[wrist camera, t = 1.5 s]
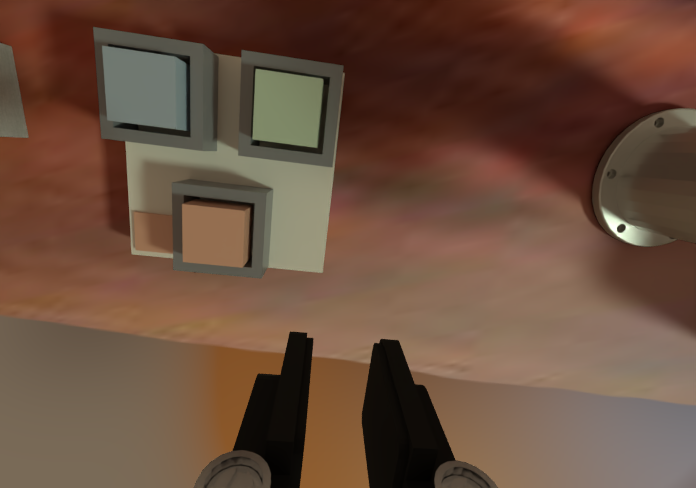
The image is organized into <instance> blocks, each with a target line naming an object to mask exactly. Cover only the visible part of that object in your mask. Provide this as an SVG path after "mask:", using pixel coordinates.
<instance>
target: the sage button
mask: <svg viewBox="0 0 696 488" xmlns="http://www.w3.org/2000/svg"><path fill="white" fill-rule="evenodd" d="M323 90H324V82H323V79H321V78H314V77H308V76H301V75H294V74H288V73H281V72H274V71H268V70H261V69H256V72H255V94H254V116H253V139H254V140H260V141H267V142H275V143H283V144H290V145H298V146H306V147H313V148H318V142H319V131H320V121H321V111H322V100H323Z"/></svg>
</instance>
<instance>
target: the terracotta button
mask: <svg viewBox="0 0 696 488" xmlns="http://www.w3.org/2000/svg"><path fill="white" fill-rule="evenodd" d="M252 210H253V205H245V204H236V203H227V202H218V201H209V200H201V199H194V200H192V201H189V202H186V203H183V204H182V243H183V262H188V263H199V264H209V265H219V266H229V267H240V268H243V266H244V265H245V264H246V262H247V261H248V260H249V258H250V252H251V231H252Z"/></svg>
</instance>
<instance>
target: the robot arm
mask: <svg viewBox="0 0 696 488" xmlns="http://www.w3.org/2000/svg"><path fill="white" fill-rule="evenodd" d="M592 202H593V207H594V213H595V215H596V217H597V219H598V222H599V223H600V225H601V226H602V227H603V229H604V230H605V231H606V232H607V233H608V234H610V235H611V236H612V237H613V238H615V239H618V240H620V241H622V242H625V243H628V244H632V245H635V246H642V247H652V246H660V245H664V244H668V243H671V242H673V241H676V240H678V239H679V240H683V241H687V242H691V243H695V244H696V109H690V108H677V109H669V110H663V111H659V112H656V113H652V114H650V115H648V116H645V117H643V118H641V119H639V120H638V121H636V122H635V123H633V124H632V125H630V126H629V127H627V128H626V129H625V130H624V131H623V132H622V133H621V134H620V135H619V136H618V137H617V138H616V139H615V140H614V141H613V143H612V144H611V145H610V146H609V148H608V149H607V150H606V152H605V154H604V156H603V157H602V159H601V161H600V163H599V166H598V168H597V171H596V174H595V177H594V182H593V188H592ZM312 350H313V338H307V333H302V332H290V334H289V338H288V343H287V348H286V352H285V357H284V361H283V366H282V370H281V375H272V374H258V375H257V378H256V380H255V383H254V387H253V390H252V393H251V396H250V399H249V402H248V405H247V409H246V412H245V414H244V418H243V421H242V424H241V427H240V430H239V433H238V436H237V439H236V442H235V446H234V448H233V451H231V452H228V453H225V454H222V455H220V456H219V457H217V458H216V459H214V460H213V461H211V462H210V463H209V464H208V465H207V466H206V467H205V468H204V469H203V470H202V472H201V474H200V476H199V477H198V479H197V481H196V483H195V486H194V488H300V479H301V470H302V461H303V452H304V442H305V432H306V419H307V408H308V397H309V384H310V373H311V360H312ZM362 427H363V436H364V444H365V453H366V461H367V470H368V478H369V486H370V488H498V487H497V486H496V484H495V483H494V482H493V481H492V480H491V479H490V478H489V477H488V476H487V474H485V473H484V472H483V471H481V470H480V469H478V468H477V467H475V466H473V465H471V464H468V463H466V462H461V461H456V460H455V458H454V455H453V453H452V451H451V448H450V446H449V443H448V441H447V438H446V436H445V434H444V431H443V429H442V426H441V424H440V421H439V419H438V416H437V414H436V411H435V409H434V406H433V404H432V402H431V399H430V397H429V394H428V392H427V390H426V388H425V386H423V385H416V384H414V381H413V378H412V375H411V373H410V370H409V367H408V364H407V362H406V359H405V356H404V353H403V351H402V348H401V345H400V343H399V341H398V340H388V339H381V340H380V343H374V345H373V351H372V357H371V363H370V369H369V375H368V381H367V387H366V393H365V399H364V405H363V411H362Z"/></svg>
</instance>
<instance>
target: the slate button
mask: <svg viewBox="0 0 696 488" xmlns="http://www.w3.org/2000/svg"><path fill="white" fill-rule="evenodd" d="M102 52H103V67H104V81H105V96H106V110H107V120H109V121H116V122H123V123H130V124H138V125H146V126H153V127H161V128H168V129H176V130H184V131H191V129H190V65H188V64H186V63H185V62H183V61H182V60H180V59H178V58H177V57H174V56H168V55H161V54H154V53H148V52H141V51H134V50H128V49H121V48H114V47H108V46H102Z"/></svg>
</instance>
